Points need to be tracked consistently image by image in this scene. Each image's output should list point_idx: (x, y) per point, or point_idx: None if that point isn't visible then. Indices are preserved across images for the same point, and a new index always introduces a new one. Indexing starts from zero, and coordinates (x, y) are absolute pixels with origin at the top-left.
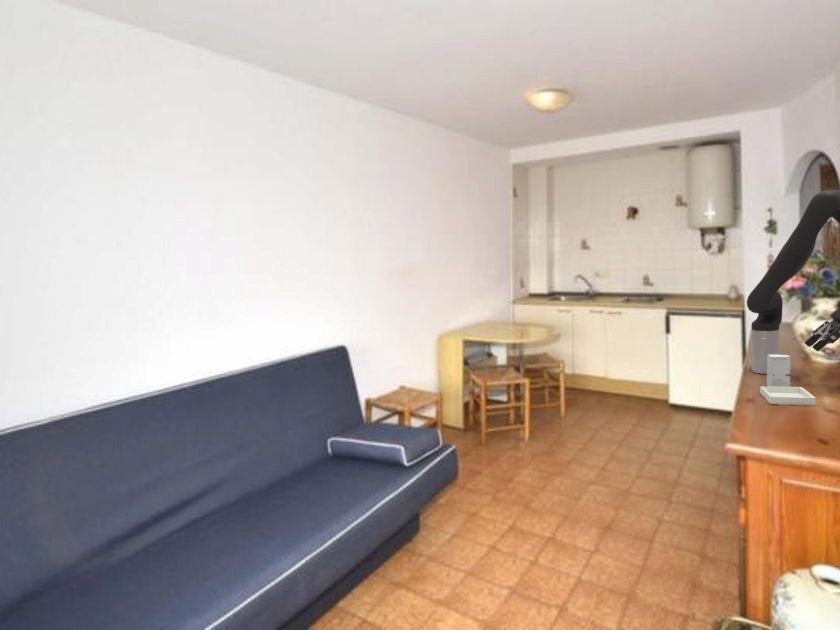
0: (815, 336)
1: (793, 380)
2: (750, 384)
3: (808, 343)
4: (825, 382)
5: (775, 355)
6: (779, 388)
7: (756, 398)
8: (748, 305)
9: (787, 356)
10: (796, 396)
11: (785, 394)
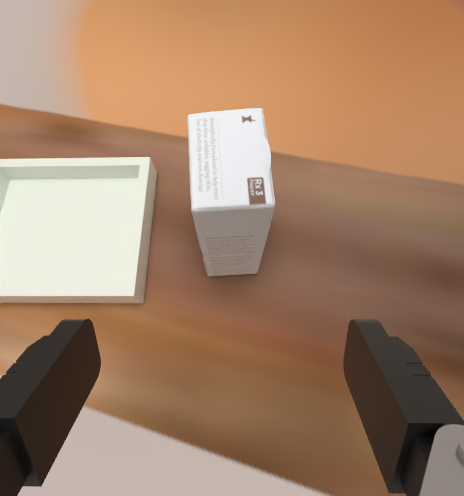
0: (413, 459)
1: (417, 340)
2: (301, 169)
3: (355, 356)
4: None
5: (221, 137)
6: (134, 216)
7: (90, 153)
8: None
9: (195, 194)
10: (79, 266)
11: (112, 237)
